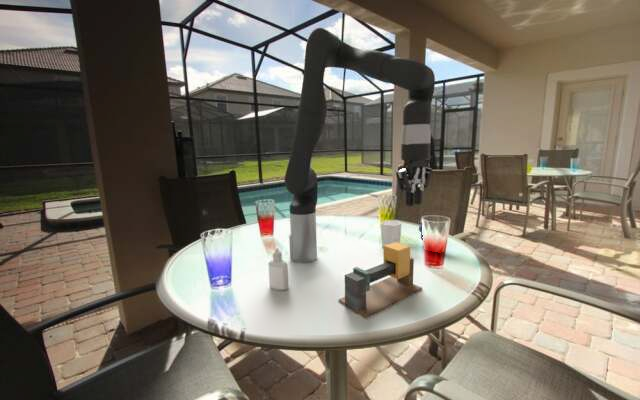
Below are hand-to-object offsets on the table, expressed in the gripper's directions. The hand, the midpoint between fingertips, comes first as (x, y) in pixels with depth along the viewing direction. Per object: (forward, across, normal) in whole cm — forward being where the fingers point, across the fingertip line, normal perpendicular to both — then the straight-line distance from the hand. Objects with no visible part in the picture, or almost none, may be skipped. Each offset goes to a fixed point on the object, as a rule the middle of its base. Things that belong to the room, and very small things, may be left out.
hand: (413, 204), depth 83 cm
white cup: (+23, -19, -23) cm, 38 cm away
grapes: (+23, -29, -13) cm, 39 cm away
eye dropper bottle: (+23, +32, -22) cm, 45 cm away
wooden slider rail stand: (+23, +13, 0) cm, 27 cm away
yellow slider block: (+19, +7, 0) cm, 20 cm away
